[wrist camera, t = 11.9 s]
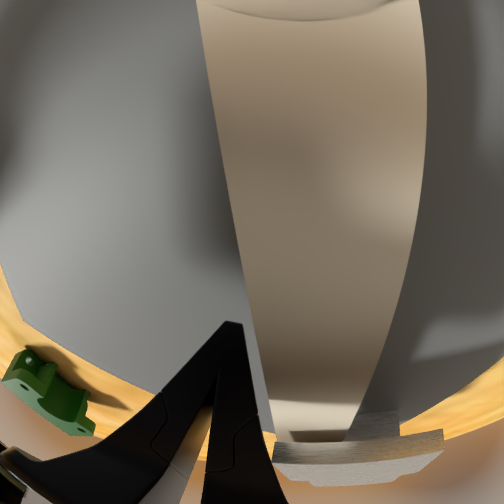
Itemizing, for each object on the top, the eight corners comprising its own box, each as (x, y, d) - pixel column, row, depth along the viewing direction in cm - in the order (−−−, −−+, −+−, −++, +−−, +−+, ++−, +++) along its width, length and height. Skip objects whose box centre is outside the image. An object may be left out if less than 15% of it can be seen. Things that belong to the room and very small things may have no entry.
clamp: (104, 367, 30) (109, 437, 25) (78, 373, 32) (81, 437, 26) (23, 333, 21) (18, 420, 16) (4, 344, 22) (0, 419, 17)
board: (29, 311, 18) (23, 320, 17) (34, -77, 2) (19, -78, 1) (352, 435, 19) (351, 446, 19) (617, 174, 3) (628, 184, 3)
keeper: (287, 360, 13) (271, 462, 9) (429, 346, 11) (444, 449, 7) (306, 415, 17) (296, 485, 13) (406, 408, 15) (408, 479, 11)
